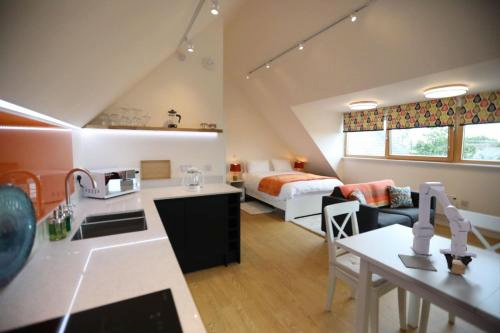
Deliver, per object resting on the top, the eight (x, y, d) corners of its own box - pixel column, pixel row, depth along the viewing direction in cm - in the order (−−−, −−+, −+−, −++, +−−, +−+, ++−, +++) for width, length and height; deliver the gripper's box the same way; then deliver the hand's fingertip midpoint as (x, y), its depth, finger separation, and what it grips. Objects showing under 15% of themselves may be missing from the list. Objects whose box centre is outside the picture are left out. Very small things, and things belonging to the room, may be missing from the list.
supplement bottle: (451, 256, 137) (453, 237, 136) (465, 259, 133) (467, 240, 132) (451, 260, 132) (453, 241, 131) (466, 264, 128) (468, 244, 127)
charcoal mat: (398, 255, 139) (398, 254, 139) (425, 258, 135) (425, 257, 135) (406, 267, 126) (406, 266, 126) (437, 271, 122) (437, 270, 121)
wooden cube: (447, 268, 122) (448, 259, 122) (459, 269, 121) (459, 260, 120) (452, 273, 117) (453, 263, 117) (464, 274, 116) (465, 265, 115)
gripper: (445, 244, 116) (442, 270, 117) (481, 248, 111) (478, 275, 113) (438, 239, 122) (436, 263, 124) (472, 242, 118) (470, 267, 120)
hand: (456, 268), depth 119 cm, fingers closed on wooden cube, 5 cm apart
